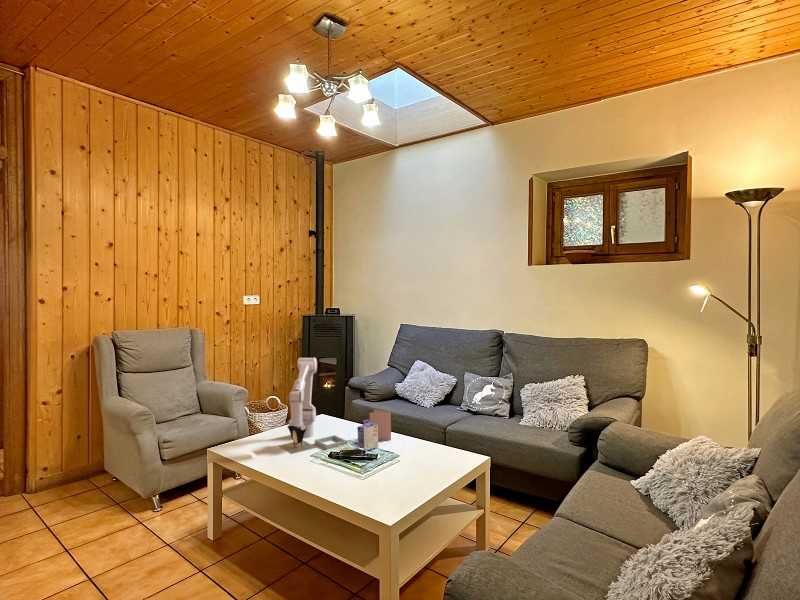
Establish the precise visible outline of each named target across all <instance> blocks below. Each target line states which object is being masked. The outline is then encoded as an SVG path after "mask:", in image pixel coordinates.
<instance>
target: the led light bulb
mask: <svg viewBox="0 0 800 600" xmlns="http://www.w3.org/2000/svg"><path fill="white" fill-rule="evenodd" d="M292 442H293V443H294V448H299V447H301V443H298V441H297V435H296V432H295V430H294V431H293V440H292Z"/></svg>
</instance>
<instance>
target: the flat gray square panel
mask: <svg viewBox="0 0 800 600" xmlns="http://www.w3.org/2000/svg"><path fill="white" fill-rule="evenodd" d="M277 447H279V448H280V449H282V450H284V451H285V452H287V453H289V454H290V455H292V454H298V453H301V452H306V451H309V450H313V449H317V448H318V447H317V446H315V445H314V444H311V443H310V442H307V441H305V440H304V439H303V441H302V442H301V447H299V448H294V443H293V441H291V442H287V443H283V444H278V445H277Z"/></svg>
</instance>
